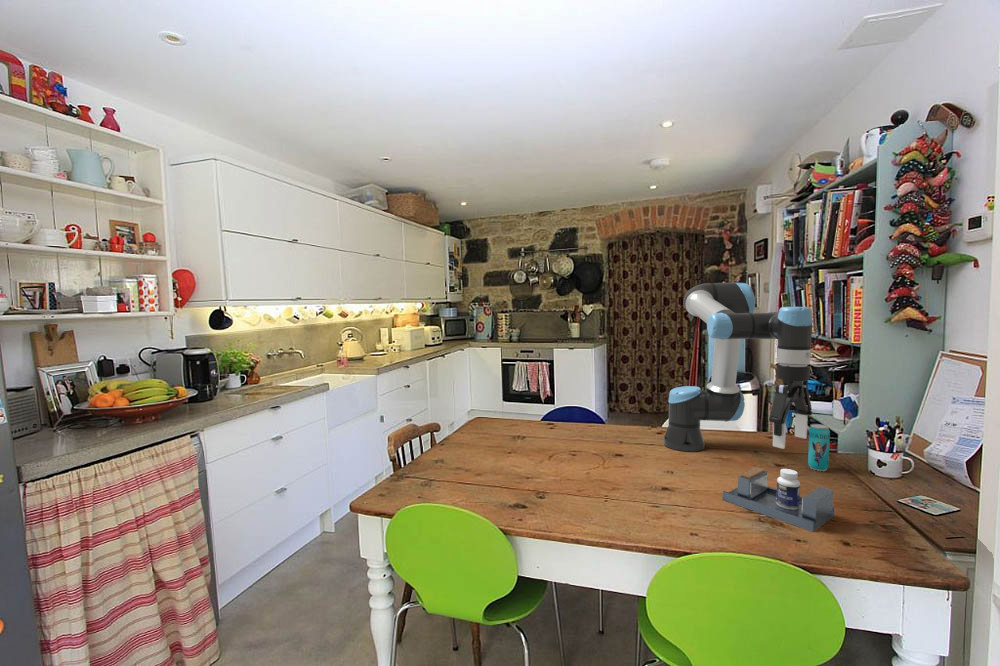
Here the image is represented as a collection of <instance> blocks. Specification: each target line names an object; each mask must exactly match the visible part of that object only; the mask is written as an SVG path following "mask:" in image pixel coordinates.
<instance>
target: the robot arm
mask: <svg viewBox="0 0 1000 666" xmlns="http://www.w3.org/2000/svg"><path fill="white" fill-rule="evenodd" d="M754 294H755V293H754V291H753V289H752V287H751V286H750V285H749V284H748V283H745V282H716V283H715V282H714V283H712V282H711V283H710V282H708V283H701V284H700V283H699V284H698V285H697V284H696V285H695V286H693V287H691V288H690V289H689V290H688V291H687V292H686V293H685V295H684V297H683V307H684V309H685V310H686V311H687V313H689V314H690V315H692V316H694V317H698V318H699V319H700V320H702V321H703V322H704V323H705V324H706V330H707V333H708V336H709V337H710V338H711V339H714V343H713V354H712V355H713V356H712V357H713V358H712V366H711V367H712V369H711V378H710V380H711V381H710V382H708V383H707V384H706V389H705V390H702V389H701V387H699V386H696V385H694V386H693V385H692V386H691V385H685V386H678V387H675V388H672V389H671V390H670V391H669V394H668V400H667V401H668V426H667V428H666V431H665V434H664V437H663V446H665V447H666V448H668V449H671V450H674V451H675V450H676V451H681V452H699V451H700V452H701V451H703V450H704V449H705V440H704V436H703V434H702V430H701V421H708V422H709V421H711V422H713V421H714V422H716V421H717V422H735V421H738V420H739V419H741V417H742V415H743V413H744V411H745V406H746V404H745V396H744V394H743V392H742V391H741V389H740V387H739V386H738V385H737V383H736V382H737V376H738V364H739V354H740V346H741V345H740V343H741V340H777V349H776V362H777V363H778V364H777V365H776V375H775V376H776V378H777V379H779V380H782V383H781V384H776V385H775V395H774V396H773V397H774V399H773V402H772V406H771V409H770V410H771V411H770V414H769V418H768V421H769V422H770V423H773V427H772V430H773V431H772V432H773V433H772V447H775V448H779V449H781V450H782V449H783V450H784V449H785V448H786V429H787V428H786V427H787V423H785V421H786V418H787V416H788V413H789V410H790V408H791V405H792V403H793V404H794V406H795V409H796V412H797V413H795V419H794V420H795V423H794V425H795V426H794V437H797V438H800V439H807V437H808V419H809V418H808V415H809V416H811V415H812V414H813V411H812V403H811V397H810V391H809V380H810V377H811V376H810V375H811V367H810V366H809V365H810V363H811V358H812V357H813V353H812V352H811V351H812V350H811V349H812V347H811V346H812V333H813V311H812V309H811V308H810V307H809V306H782V307H780V308H779V310H778V311H777V312H776V311H774V312H773V311H772V312H771V311H769V312H755V308H756V299H755V295H754Z"/></svg>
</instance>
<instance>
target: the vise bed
mask: <svg viewBox="0 0 1000 666" xmlns="http://www.w3.org/2000/svg"><path fill="white" fill-rule="evenodd" d="M776 494H777V488H773V487H770V486H768V485H767V491H765V492H764V493H762V494H760V495H758V496H756V497H754V498H752V499H751V500H750V499H747V498H744V497H741V496H738V487H736V488H734V489H732V490H730V491H726V490H723V491H722V500H723V501H724V502H727V503H730V504H732V505H736V506H739V507H741V508H744V509H747V510H750V511H752V512H755V513H758V514H760V515H764V516H766V517H770V518H773V519H775V520H777V521H780V522H785V523H786V524H790V525H793V526H795V527H798V528H801V529H803V530H807V531H810V532H811V533H813V532H815V531H817V529H819V528H820V527H822V526H823V525H824V524H826V523H827V522H828V521H830V520H831V519H832V518H834V516H835V506H834V490H833V489H832V488H826V487H824V486H819V487H817V488H815V489H814V490H812V491H810V492H809V493H807V494H806V495H804V496H800V501H799V508H798V509H797V510H789V509H784V508H782V507H780V506H778V505H777V503H776Z"/></svg>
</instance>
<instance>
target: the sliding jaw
mask: <svg viewBox="0 0 1000 666" xmlns="http://www.w3.org/2000/svg"><path fill="white" fill-rule="evenodd" d="M768 478H769V475H768V471H767V470H765V469H764V468H761V467H757V466H756V467H753V468H751V469H749V470H747V471H744V472H742V473H740V475H738V476H737V488H738V496H741V497H744V498H747V499H750V500H751V499H752V498H754V497H756V496H758V495H760V494H762V493H764V492H765V491H767V486H768V482H769V480H768Z"/></svg>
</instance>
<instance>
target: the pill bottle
mask: <svg viewBox="0 0 1000 666" xmlns="http://www.w3.org/2000/svg"><path fill="white" fill-rule="evenodd" d="M779 474H780V476H779V477H777V478H776V489H777V494H776V503H777V505H778V506H780V507H782V508H784V509H789V510H797V509H798V508H799V501H800V497H801V482H800V480H798V471H796V470H794V469H789V468H781V469H780V473H779Z"/></svg>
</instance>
